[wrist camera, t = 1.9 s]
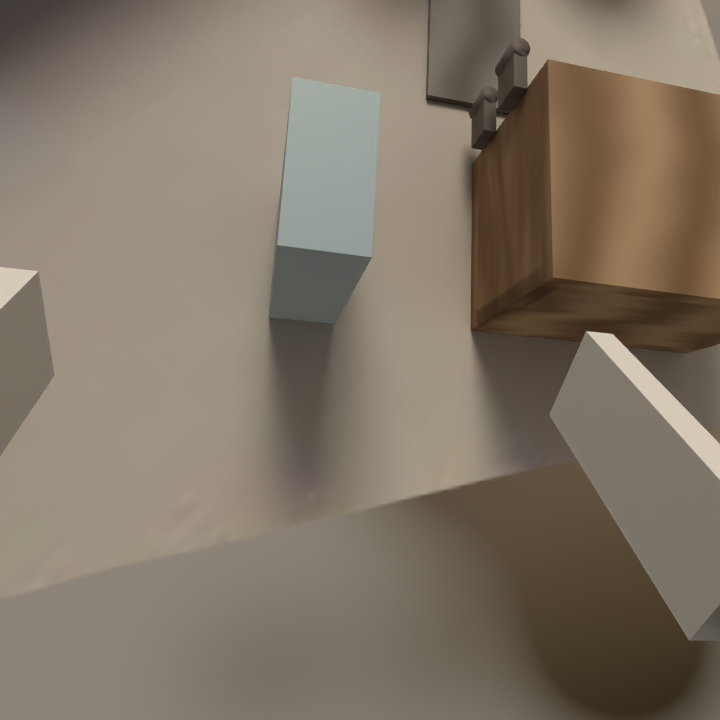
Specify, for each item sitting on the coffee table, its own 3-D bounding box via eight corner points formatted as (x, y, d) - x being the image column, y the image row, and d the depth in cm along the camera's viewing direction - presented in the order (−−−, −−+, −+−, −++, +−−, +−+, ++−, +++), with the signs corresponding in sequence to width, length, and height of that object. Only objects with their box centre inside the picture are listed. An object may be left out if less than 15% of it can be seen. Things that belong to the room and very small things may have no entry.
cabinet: (419, 324, 35) (483, 268, 25) (429, -20, 40) (485, -174, 31) (685, 353, 38) (831, 313, 29) (661, 32, 44) (776, -91, 34)
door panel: (333, 324, 34) (371, 257, 23) (268, 317, 33) (277, 245, 22) (341, 205, 35) (380, 92, 25) (279, 196, 35) (292, 76, 24)
